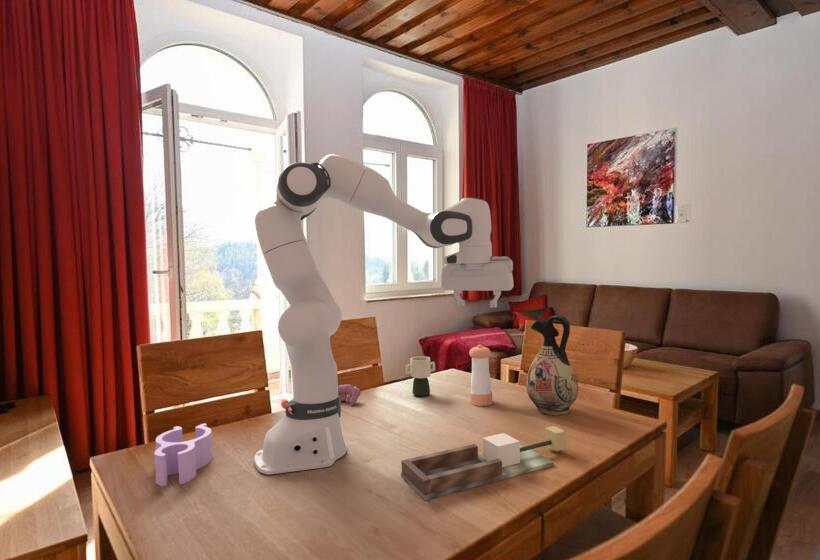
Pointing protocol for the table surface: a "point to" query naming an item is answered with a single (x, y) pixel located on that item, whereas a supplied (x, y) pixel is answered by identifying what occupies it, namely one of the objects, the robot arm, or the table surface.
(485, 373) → the pepper shaker
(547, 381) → the ceramic jug
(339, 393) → the video game controller
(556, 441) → the block plunger with rod
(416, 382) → the cream green tall piece
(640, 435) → the table surface
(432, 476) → the shelf lane
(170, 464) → the clip
